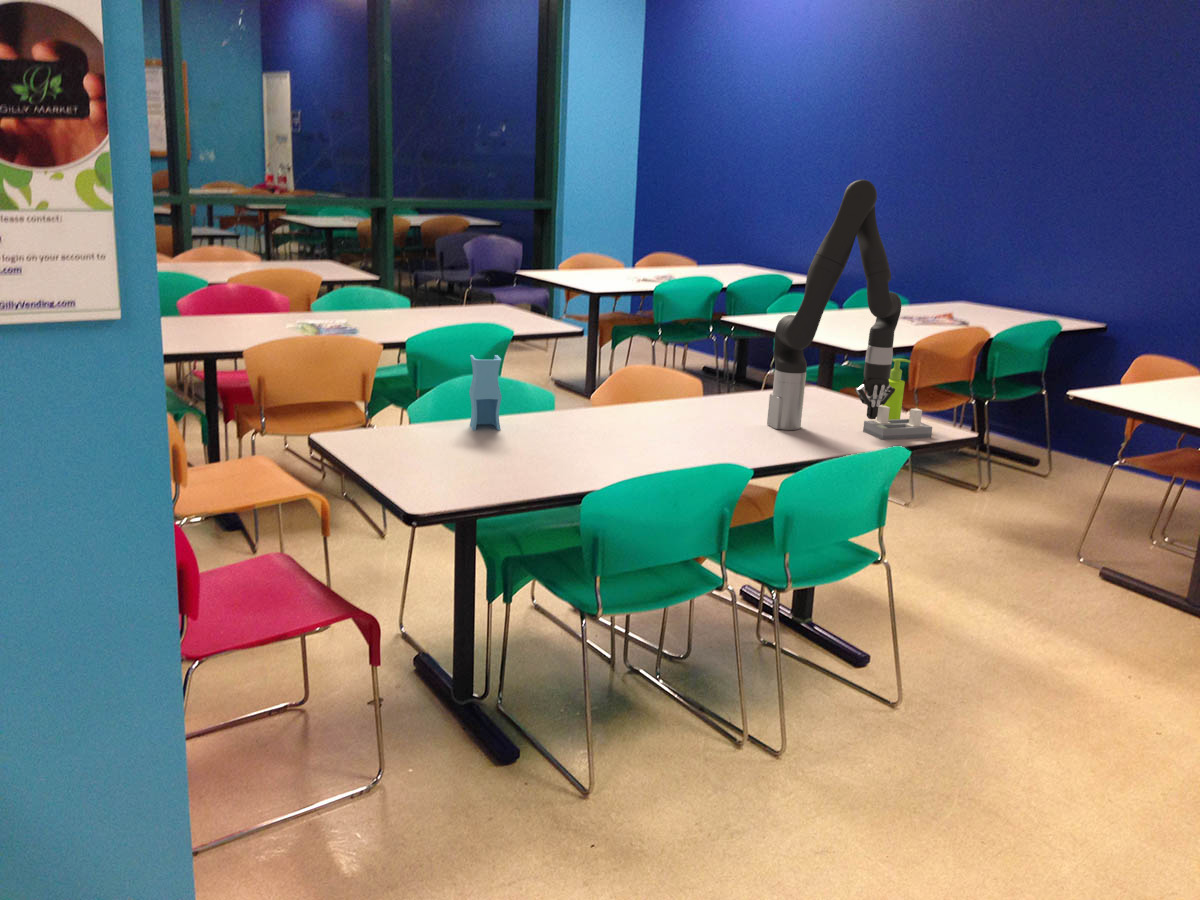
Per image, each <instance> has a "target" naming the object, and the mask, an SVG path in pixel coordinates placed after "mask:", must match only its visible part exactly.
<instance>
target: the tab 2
mask: <svg viewBox="0 0 1200 900" xmlns="http://www.w3.org/2000/svg"><path fill="white" fill-rule="evenodd" d="M922 415H923V410H922V409H920V408H910V409H909V418H908V419H909V424H906V425H905V427H923V425H920V424H921V423H922Z"/></svg>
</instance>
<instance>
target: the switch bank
mask: <svg viewBox="0 0 1200 900" xmlns="http://www.w3.org/2000/svg"><path fill="white" fill-rule="evenodd" d="M876 420H877V419H872V420H864V421H863V428H862V432H863V433H866V434H869V435H870V436H873V437H874V438H877V439H880V440H882V441H883V440H885V441H886V440H887V441H888V440H889V441H890V440H903V439H904V440H905V439H926V438H932V433H933V432H932V431H933V426H931V425H929V424H925V423H924V422H921V424H920V425H923V427H905V425H906V424H909V418H900V419H895V420H888V422H890V423H891V424H877V423H875V422H873V421H876Z"/></svg>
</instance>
